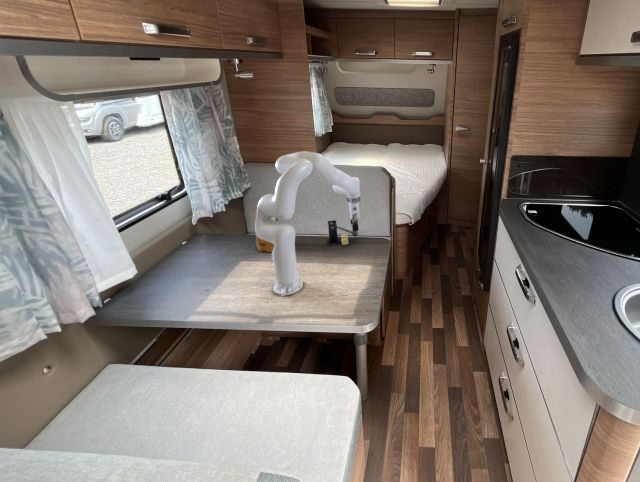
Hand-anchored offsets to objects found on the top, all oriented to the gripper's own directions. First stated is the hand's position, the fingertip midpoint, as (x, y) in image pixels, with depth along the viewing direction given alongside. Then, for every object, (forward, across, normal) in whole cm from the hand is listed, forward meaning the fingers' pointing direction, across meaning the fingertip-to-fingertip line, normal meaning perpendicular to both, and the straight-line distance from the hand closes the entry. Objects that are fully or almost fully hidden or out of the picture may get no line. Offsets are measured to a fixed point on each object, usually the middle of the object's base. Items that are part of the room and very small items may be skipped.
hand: (354, 227), depth 191 cm
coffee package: (+9, +2, +46) cm, 47 cm away
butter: (+9, -2, +6) cm, 11 cm away
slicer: (+9, 0, +12) cm, 15 cm away
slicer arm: (+2, 0, +7) cm, 7 cm away
